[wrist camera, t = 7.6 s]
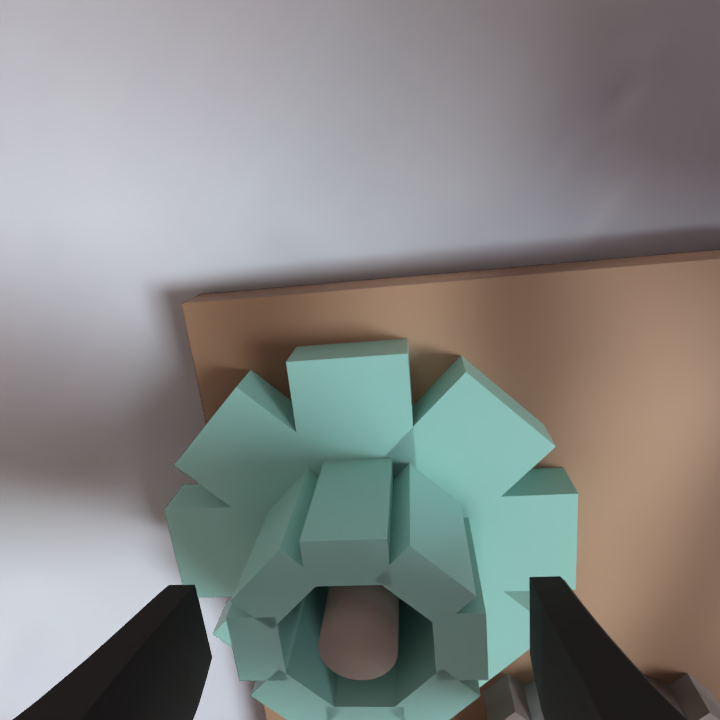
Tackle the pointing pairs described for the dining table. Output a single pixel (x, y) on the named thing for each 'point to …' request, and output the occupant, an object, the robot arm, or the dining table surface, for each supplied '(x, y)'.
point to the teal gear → (372, 527)
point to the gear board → (563, 423)
